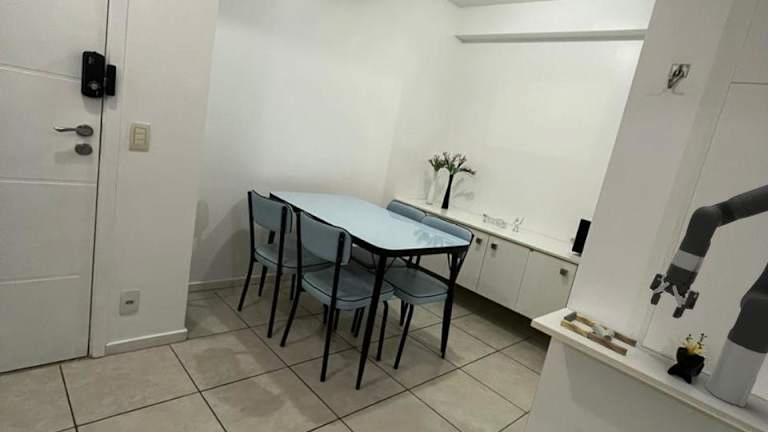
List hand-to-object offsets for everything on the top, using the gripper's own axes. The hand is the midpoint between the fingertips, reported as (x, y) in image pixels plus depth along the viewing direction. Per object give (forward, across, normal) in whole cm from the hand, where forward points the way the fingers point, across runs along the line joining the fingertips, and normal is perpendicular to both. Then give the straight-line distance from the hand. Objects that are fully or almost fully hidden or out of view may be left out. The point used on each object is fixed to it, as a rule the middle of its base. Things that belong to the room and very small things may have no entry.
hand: (664, 310), depth 131 cm
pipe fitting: (+19, +10, +6) cm, 22 cm away
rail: (+18, +12, +8) cm, 24 cm away
